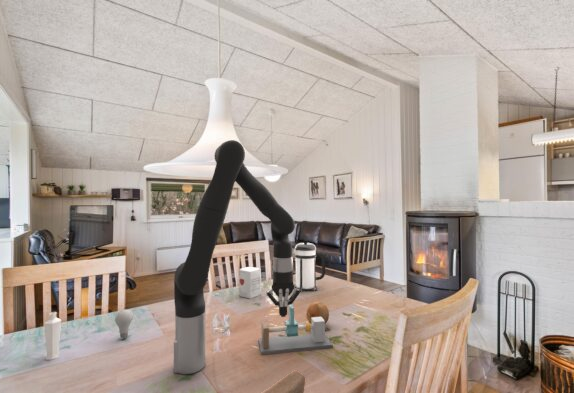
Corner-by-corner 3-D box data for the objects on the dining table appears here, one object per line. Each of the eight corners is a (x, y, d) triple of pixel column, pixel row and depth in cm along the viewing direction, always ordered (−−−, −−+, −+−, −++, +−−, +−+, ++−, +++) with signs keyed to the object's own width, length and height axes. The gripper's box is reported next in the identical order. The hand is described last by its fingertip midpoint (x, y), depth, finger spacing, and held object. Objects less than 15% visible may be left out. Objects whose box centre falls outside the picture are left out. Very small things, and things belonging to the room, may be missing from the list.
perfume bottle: (57, 359, 99) (58, 314, 100) (42, 361, 98) (42, 316, 98) (63, 352, 104) (64, 309, 104) (49, 354, 103) (49, 311, 103)
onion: (310, 319, 132) (310, 297, 132) (332, 323, 128) (332, 300, 128) (302, 327, 123) (302, 303, 124) (325, 332, 119) (325, 307, 119)
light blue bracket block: (287, 336, 107) (287, 308, 107) (285, 331, 111) (285, 304, 111) (298, 335, 108) (297, 307, 108) (295, 330, 112) (295, 303, 112)
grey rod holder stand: (260, 354, 102) (260, 329, 102) (258, 341, 112) (258, 318, 112) (332, 347, 107) (332, 323, 107) (324, 335, 117) (324, 313, 117)
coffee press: (312, 294, 167) (312, 241, 167) (288, 290, 175) (288, 239, 176) (325, 287, 181) (325, 238, 182) (303, 283, 190) (302, 236, 190)
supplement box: (238, 296, 165) (238, 269, 165) (249, 292, 172) (249, 266, 172) (250, 299, 160) (250, 271, 160) (261, 294, 167) (261, 268, 167)
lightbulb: (129, 341, 112) (129, 312, 112) (112, 343, 111) (112, 313, 111) (135, 334, 118) (135, 306, 118) (118, 335, 117) (118, 307, 117)
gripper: (266, 272, 104) (266, 321, 104) (302, 270, 107) (303, 318, 106) (264, 267, 112) (264, 313, 111) (298, 265, 114) (298, 311, 114)
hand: (283, 316), depth 109 cm, fingers closed
